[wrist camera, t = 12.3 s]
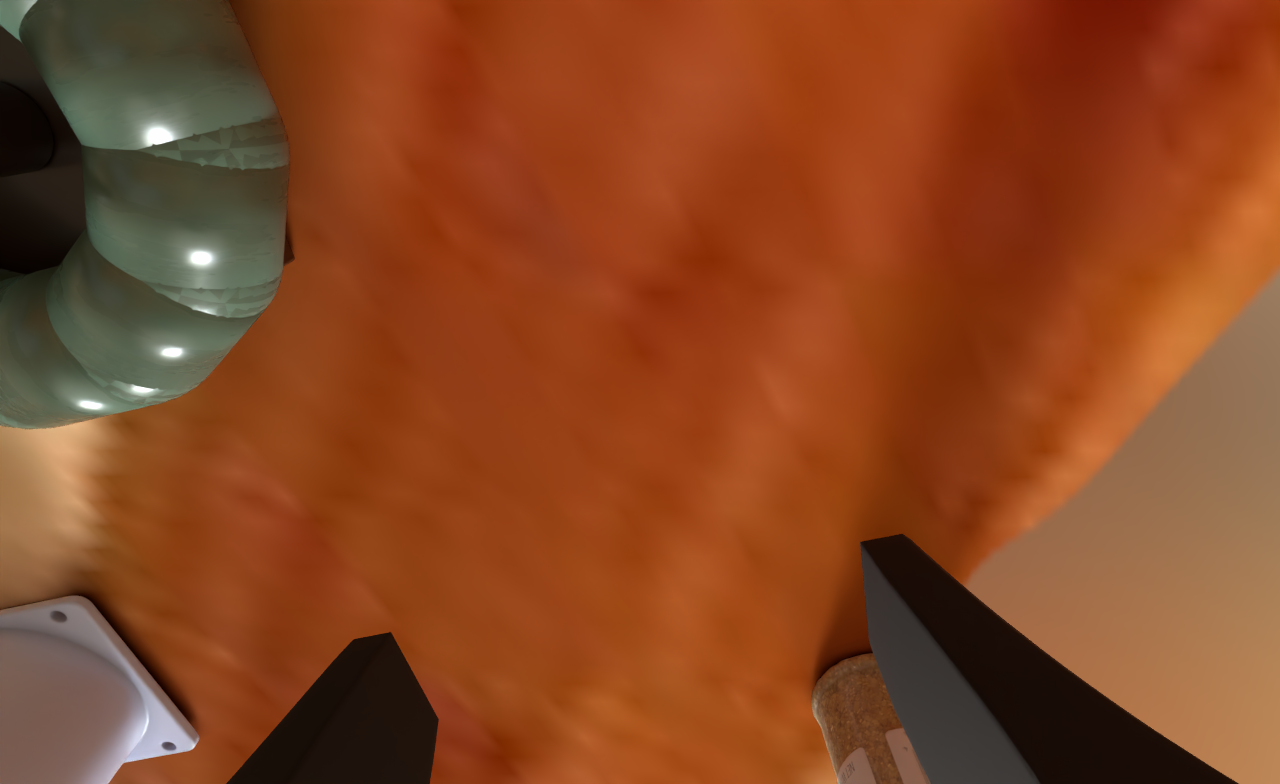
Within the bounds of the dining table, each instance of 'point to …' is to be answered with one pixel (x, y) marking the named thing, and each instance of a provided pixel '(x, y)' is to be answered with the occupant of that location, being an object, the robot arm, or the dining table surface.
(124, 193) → the ring
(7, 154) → the holder
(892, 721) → the sprinkles bottle
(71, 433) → the dining table surface
